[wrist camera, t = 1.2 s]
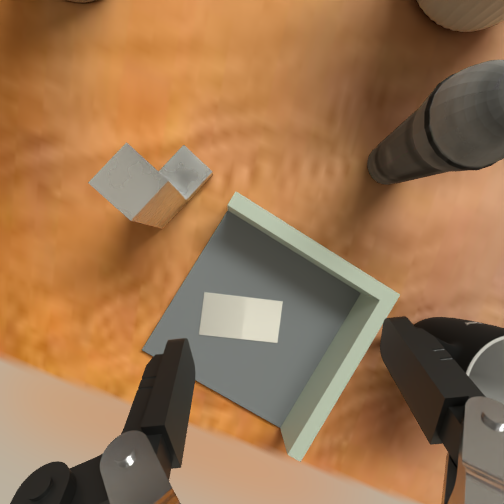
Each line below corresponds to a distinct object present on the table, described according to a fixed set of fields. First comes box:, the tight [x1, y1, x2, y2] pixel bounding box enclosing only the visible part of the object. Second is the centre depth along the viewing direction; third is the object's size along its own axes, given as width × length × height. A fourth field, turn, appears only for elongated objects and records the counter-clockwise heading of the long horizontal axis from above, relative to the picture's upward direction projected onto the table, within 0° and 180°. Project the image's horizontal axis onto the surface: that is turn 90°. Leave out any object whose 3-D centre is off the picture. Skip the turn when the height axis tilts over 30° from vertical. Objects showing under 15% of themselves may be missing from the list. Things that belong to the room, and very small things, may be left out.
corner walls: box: [228, 192, 400, 462], centre depth 30 cm, size 19×19×4 cm
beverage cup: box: [367, 60, 504, 184], centre depth 23 cm, size 7×7×20 cm
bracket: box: [88, 143, 213, 229], centre depth 26 cm, size 8×4×10 cm, turn 137°
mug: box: [414, 317, 504, 404], centre depth 28 cm, size 12×9×10 cm
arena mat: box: [142, 211, 361, 428], centre depth 32 cm, size 19×19×1 cm
